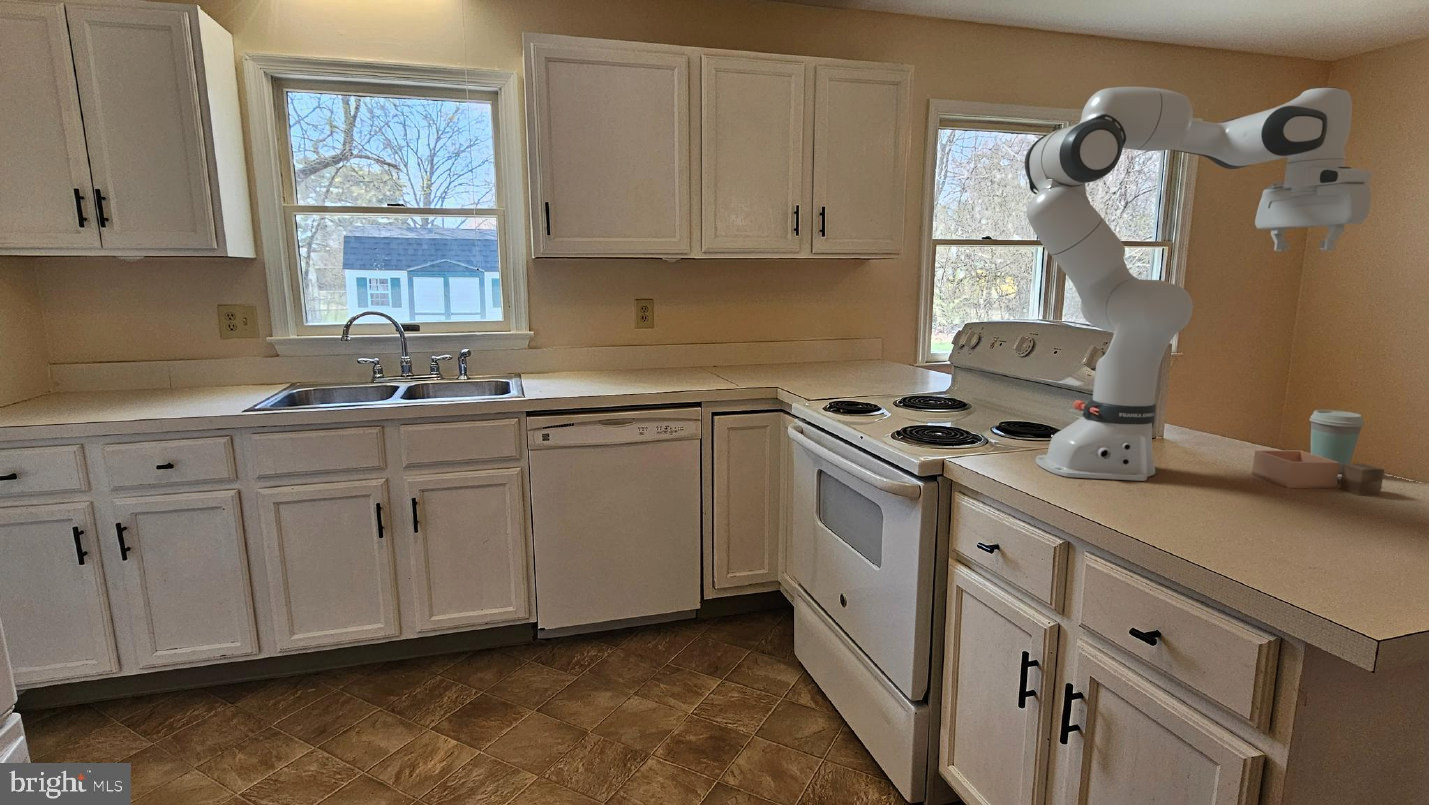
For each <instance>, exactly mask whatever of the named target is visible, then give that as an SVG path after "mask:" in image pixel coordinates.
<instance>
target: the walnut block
mask: <svg viewBox="0 0 1429 805" xmlns="http://www.w3.org/2000/svg"><path fill="white" fill-rule="evenodd" d="M1384 473H1385V468H1381V467H1379V466H1374V465H1371V464H1367V463H1350V464H1344V465H1343V471H1342V473H1341V476H1342V477H1341V483H1339V484H1340V485H1339V490H1342V491H1344V492H1348V493H1350V494H1354V495H1357V496H1380V495H1381V491H1382V484H1383V479H1384Z"/></svg>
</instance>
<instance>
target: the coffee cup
mask: <svg viewBox="0 0 1429 805" xmlns="http://www.w3.org/2000/svg"><path fill="white" fill-rule="evenodd" d="M1309 421H1310V453H1311V454H1314V455H1317V456H1320V457H1324V458H1327V459H1330V460H1333V461H1337V462H1340V465H1339V471H1338V474H1342V471H1343V465H1344V464H1351V461H1352V458H1353V455H1354V452H1355V449H1356V445H1357V443H1358V440H1359V437H1360V434H1361V431H1362V427H1365V425H1364V420H1363V416H1362V415H1361V414H1360V413H1355V412H1350V411H1344V410H1334V409H1316V410H1314V411H1313V413H1312V414H1311V416H1310V418H1309Z"/></svg>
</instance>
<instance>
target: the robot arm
mask: <svg viewBox="0 0 1429 805" xmlns="http://www.w3.org/2000/svg"><path fill="white" fill-rule="evenodd" d="M1352 103H1353V101H1352V98H1351V94H1350V93H1349V91H1348V90H1345V89H1343V88H1340V87H1332V86H1328V87H1325V86H1324V87H1322V86H1321V87H1314V88H1309V89H1307V90H1304V91H1303V92H1302V93H1300V95H1298V96H1297V97H1296V98H1293V99H1292V100H1290V101H1287V102H1286V103H1284V104H1280V105H1277V106H1276V107H1273V108H1270V109H1266V110H1263V111H1260V112H1259V111H1258V112H1256V113H1252V114H1249V115H1245V116H1240V117H1236V118H1235V117H1233V118H1231V119H1227V120H1225V121H1221V122H1210V121H1205V120H1199V119H1194V118H1193V117H1194V110H1193V105H1192V103H1191V100H1190V99H1189V97H1188V96H1187V95H1185V94H1182V93H1180V92H1177V91H1174V90H1171V89H1165V88H1157V87H1148V86H1117V87H1116V86H1115V87H1107V88H1106V87H1105V88H1103V89H1100V90H1098V91H1096V92H1095V93H1094V94H1093V95H1091V97H1090V98H1088V100H1087V101H1086V103H1085V105H1084V108H1083V110H1082V111H1081V112H1082V113H1081V116H1080V120H1079V122H1078V123H1076V124H1074V125H1070V126H1065V127H1062V128H1059V129H1057V130H1054V131H1053V132H1050V133H1048V134H1044V135H1043V136H1041V137H1039V138H1038V140H1036V141H1035V142H1034V143H1033V144H1032V145H1031V146H1030V147H1029V149H1028V151H1027V152H1026V154H1025V157H1024V170H1025V174H1026V177H1027V180H1028V185H1029V190H1030V191H1031V193H1033V195H1034V196H1033V197H1032V198H1031V199H1030V201H1029V203H1028V205H1027V207H1026V218H1027V220H1028V222H1029V224H1030V226H1031V228H1032V230H1033V232H1034V234H1035V235H1036V237H1037V239H1038V240H1039V242H1040V243H1041V244H1042V246H1043V247H1044V248H1045V250H1046V251H1047V253H1048V254H1049V255H1050V256H1051V257H1052V259H1053V260H1054V261H1055V262H1056V264H1057V265H1058V266H1059V267H1060V269H1061V270H1062V271H1063V273H1065V275H1066V276H1067V278H1068V279H1069V280H1070V281H1071V284H1073V287H1074V288H1075V290H1076V292H1077V294H1078V296H1079V299H1080V301H1081V302H1080V311H1081V314H1082V316H1083V319H1084V320H1085V321H1086V322H1087V323H1089V324H1091V325H1092V326H1094V327H1095V328H1098V329H1099V330H1101V331H1105V332H1111V333H1113V335H1112V339H1111V342H1110V344H1109V346H1108V349H1107V350H1106V352H1105V354H1104V355H1103V356H1102V357H1100V358H1099V359H1098V360H1097V362H1096V365H1095V371H1094V372H1095V373H1094V380H1093V381H1094V382H1093V389H1092V390H1093V391H1092V398H1091V399H1090V400H1089V401H1088V402H1087V403H1086V402H1084V401H1081V400H1079V399H1077V400H1074V402H1073V404H1072V408H1073V409H1074V410H1078V411H1079V412H1083V413H1082V417H1080V418H1078V419H1076V420H1075V421H1074V422H1072V423H1071V424H1069V425H1068V426H1066V427H1064V428H1063V429H1062V428H1061V429H1060V430H1059V431H1057V432H1056V433H1054V434H1053V436H1052V437H1051V439H1050V441H1049V445H1048V450H1047V453H1046V454H1040V455H1037V456H1036V457H1035V463H1036V464H1037V465H1038V466H1039V467H1041V468H1042V469H1044V470H1046V471H1048V472H1050V473H1053V474H1055V475H1058V476H1063V477H1065V478H1066V477H1067V478H1080V479H1081V478H1082V479H1097V480H1098V479H1104V480H1117V481H1119V480H1120V481H1121V480H1122V481H1137V482H1138V481H1140V482H1141V481H1142V482H1145V481H1147V480H1148V477H1151V476H1154V475H1155V474H1156V473H1157V472H1156V468H1155V463H1154V458H1153V441H1152V438H1153V429H1154V426H1155V422H1156V414H1157V412H1156V411H1157V405H1156V403H1155V399H1156V390H1157V383H1158V377H1159V369H1160V366H1161V362H1162V360H1163V357H1164V355H1165V353H1166V351H1167V349H1168V347H1169V346H1170V343H1171V341H1172V340H1173V338H1174V337H1175V336H1176V335H1177V334H1178V333H1179V332H1180V331H1182V330H1183V329H1184V328H1185V327H1186V326H1187V325H1188V324H1189V322H1190V320H1191V318H1192V315H1193V312H1194V305H1193V300H1192V296H1191V295H1190V294H1189V292H1188V291H1187V290H1186V289H1184V288H1183V287H1181V286H1178V285H1176V284H1174V283H1173V282H1169V281H1165V280H1160V279H1139V278H1137V277H1136V276H1134V274H1132V273H1131V271H1129V268H1128V266H1127V264H1126V262H1125V255H1126V254H1125V253H1126V248H1125V244H1124V243H1123V241H1121V239H1120V237H1118V236H1117V234H1116V232H1114V230H1113V229H1112V228H1111V227H1110V225H1108V223H1107V222H1106V220H1105V219H1104V218H1103V216H1102V215H1101V214H1100V213H1099V212H1098V210H1096V208H1095V207H1094V206H1093V205H1092V204H1091V202H1090V199H1089V197H1088V194H1087V189H1086V188H1087V187H1086V184H1087V183H1088V184H1089V183H1094V182H1096V181H1098V180H1100V179H1102V178H1104V177H1105V176H1107V175H1108V174H1109V173H1111V172H1112V171H1113V170H1114V169H1115V167H1116V166H1117V165H1118V163H1119V161H1120V158H1121V156H1122V154H1123V150H1124V149H1127V150H1132V151H1133V150H1135V151H1146V152H1158V151H1159V152H1160V151H1171V152H1172V151H1173V152H1178V153H1185V154H1189V155H1196V156H1201V157H1204V158H1206V159H1208V160H1210V161H1211V162H1213V163H1215V164H1216V165H1218V166H1219V167H1222V168H1224V169H1228V170H1239V169H1242V168H1246V167H1248V166H1252V165H1256V164H1262V163H1263V164H1264V163H1268V162H1271V161H1276V160H1281V159H1285V158H1286V159H1287V161H1286V165H1285V173H1284V174H1285V175H1284V179H1283V180H1284V181H1282V182H1273V183H1270V184H1269V185H1268V186H1267V187H1266V188H1265V189H1264V190H1263V191H1262V194H1261V198H1260V200H1259V204H1258V206H1257V207H1258V208H1257V211H1256V214H1255V215H1256V216H1255V220H1254V225H1255V227H1256V228H1257V230H1270V235H1271V238H1272V240H1273V242H1274V248H1273V250H1274V252H1287V251H1289V246H1290V242H1286V239H1285V237H1284V235H1286V233H1287V229H1295V228H1296V229H1297V228H1313V227H1327V228H1326V231H1327V232H1328V234H1327V236H1326V237H1325V239H1324V240H1320V242H1319V250H1320V251H1334V250H1335V247H1336V241H1338V240H1339V238H1340V236H1341V235H1342V234H1343V233H1344V231H1345V226H1347V225H1360V224H1363V223H1364V222H1365V221H1366V220H1367V219H1368V217H1369V213H1370V206H1371V199H1372V198H1371V197H1372V195H1371V194H1372V192H1371V188H1370V186H1369V185H1368V183H1369V182H1371V180H1372V176H1373V172H1372V171H1371V170H1367V169H1362V168H1357V167H1356V168H1355V167H1351V166H1346V160H1347V158H1346V157H1347V156H1346V150H1345V148H1346V144H1347V142H1348V140H1349V138H1350V134H1351V133H1350V132H1351V128H1352V119H1353V117H1352V116H1353V104H1352Z"/></svg>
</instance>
